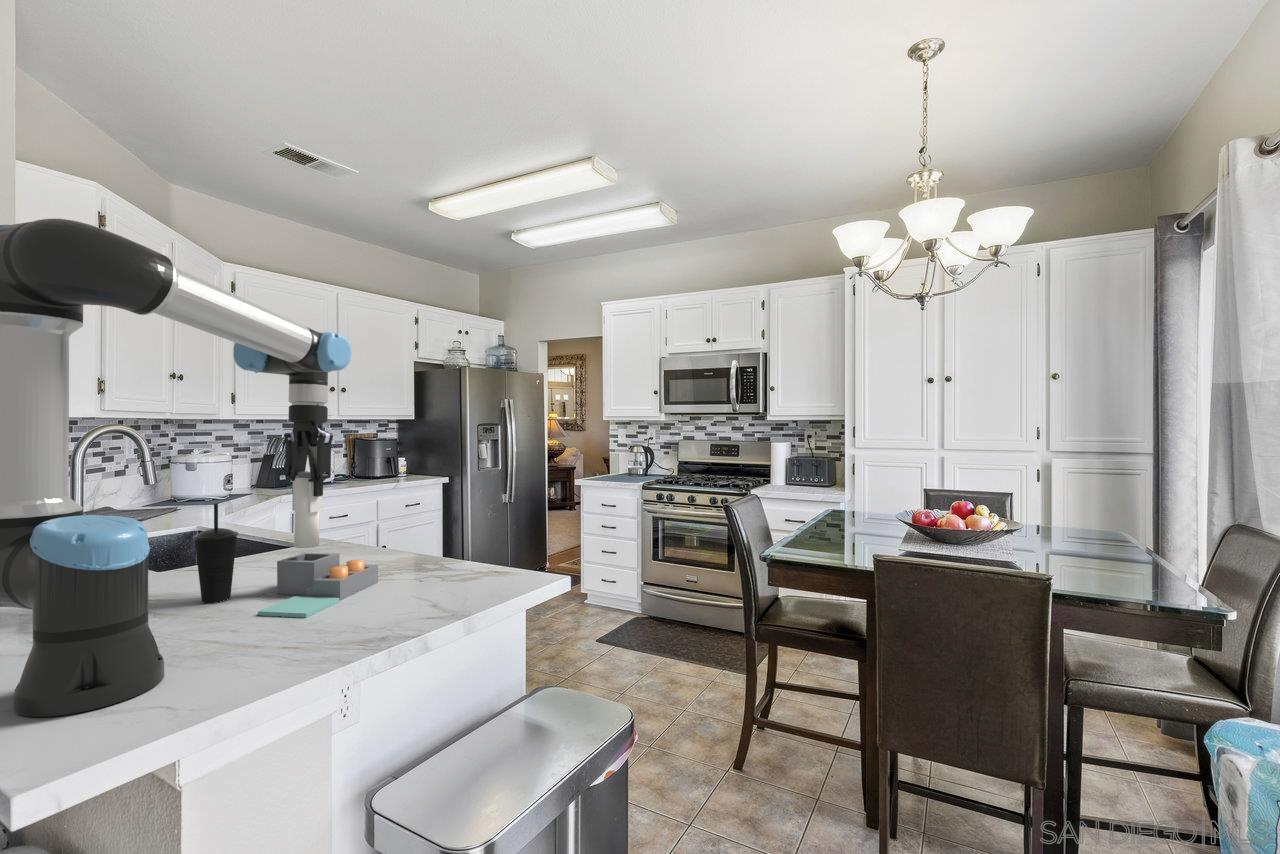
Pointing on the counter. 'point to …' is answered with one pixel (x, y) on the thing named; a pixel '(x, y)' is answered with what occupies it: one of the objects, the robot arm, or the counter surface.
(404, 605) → the counter surface
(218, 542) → the drinking cup
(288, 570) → the grey stepped holder
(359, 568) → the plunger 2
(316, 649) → the counter surface
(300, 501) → the cylinder
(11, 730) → the counter surface
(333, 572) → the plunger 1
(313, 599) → the mat
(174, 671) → the counter surface
